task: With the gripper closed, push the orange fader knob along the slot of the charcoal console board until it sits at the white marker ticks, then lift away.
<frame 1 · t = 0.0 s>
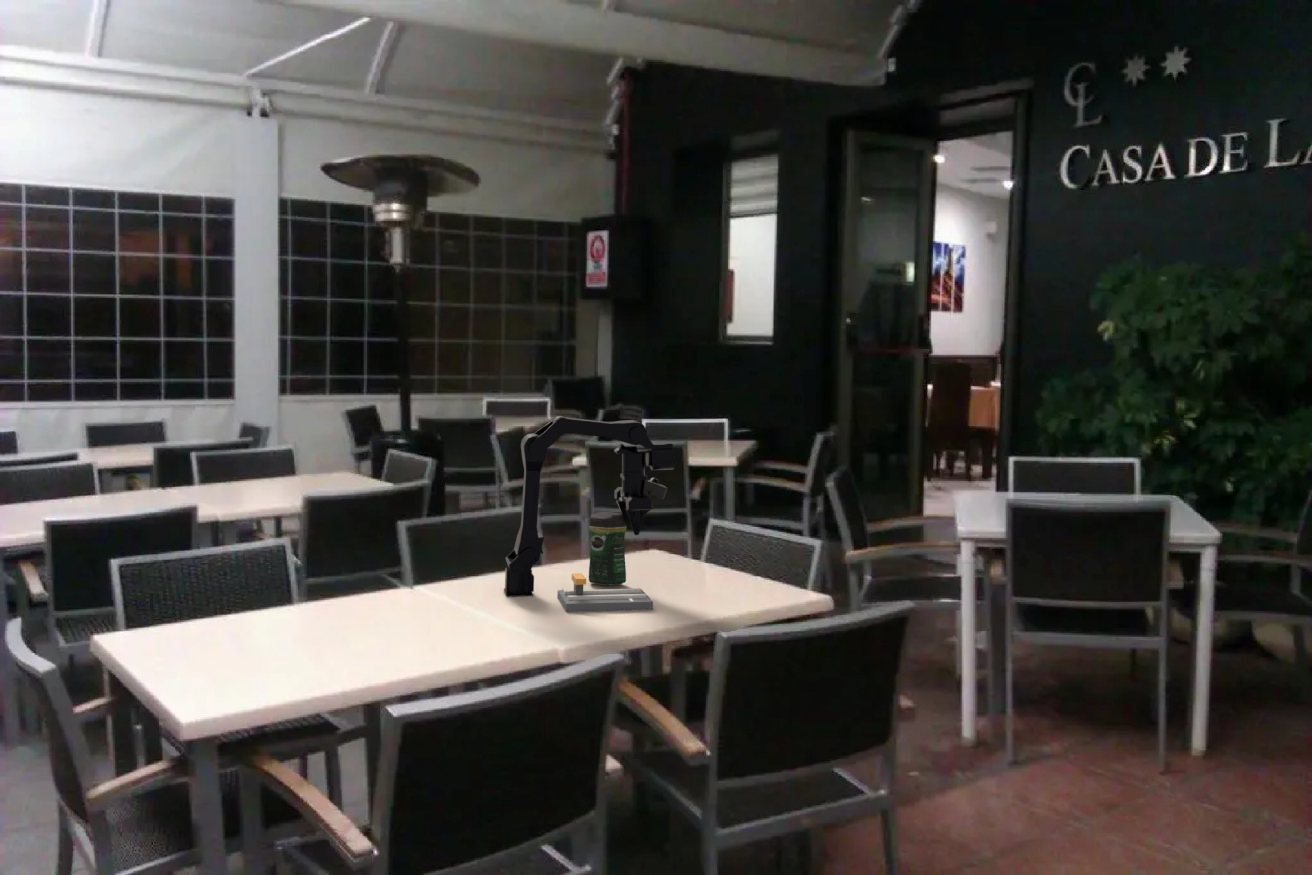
hand: (633, 531, 284), 15 cm above the table, tool pointing down, fingers open, 8 cm apart
coffee jar: (607, 584, 291), on the table, touching gripper
console: (604, 603, 272), on the table
fader: (578, 586, 270), point 5 cm above the table, slide at 0.0 cm
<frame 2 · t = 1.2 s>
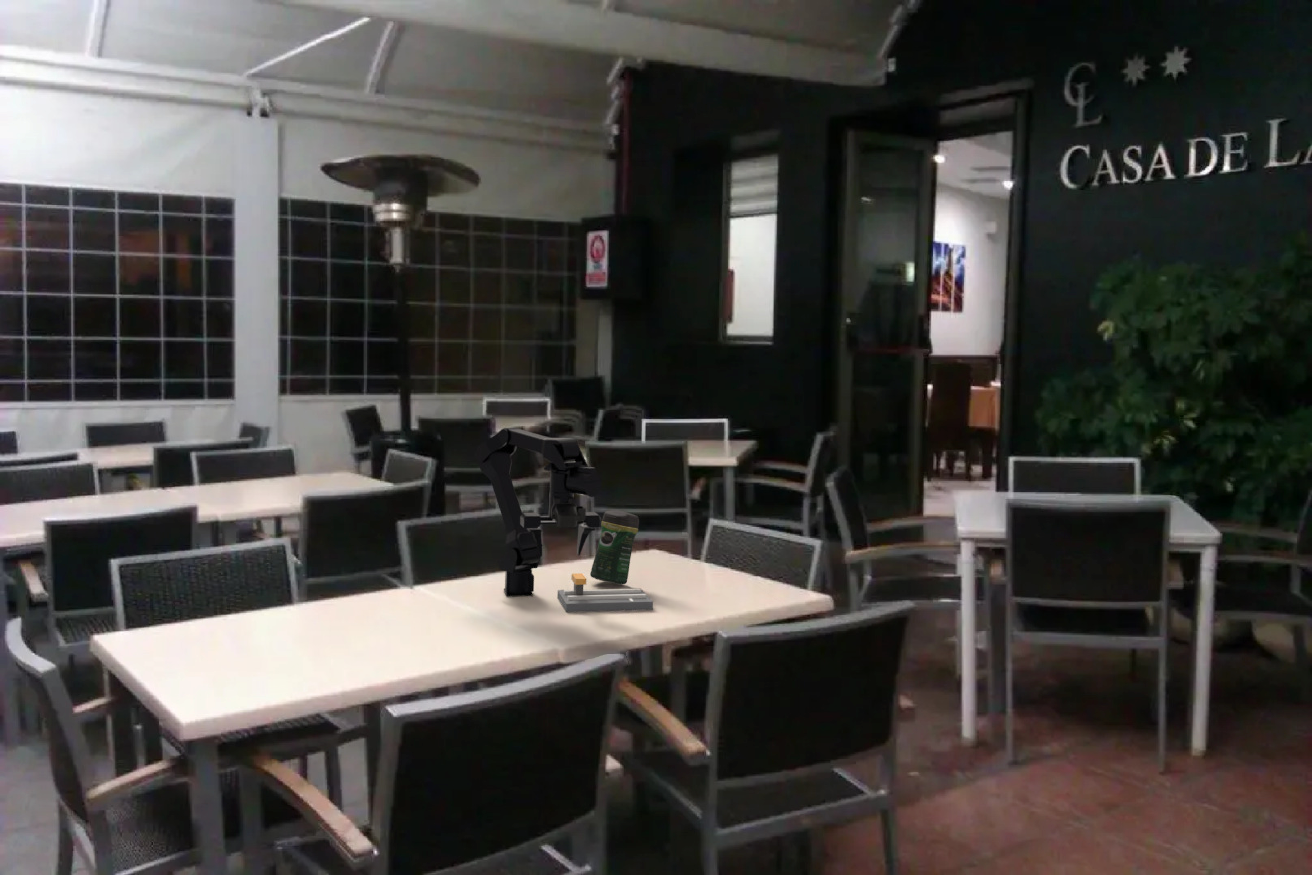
hand: (559, 555, 269), 12 cm above the table, tool pointing down, fingers open, 9 cm apart
coffee jar: (607, 582, 291), point 1 cm above the table
everything else where it was.
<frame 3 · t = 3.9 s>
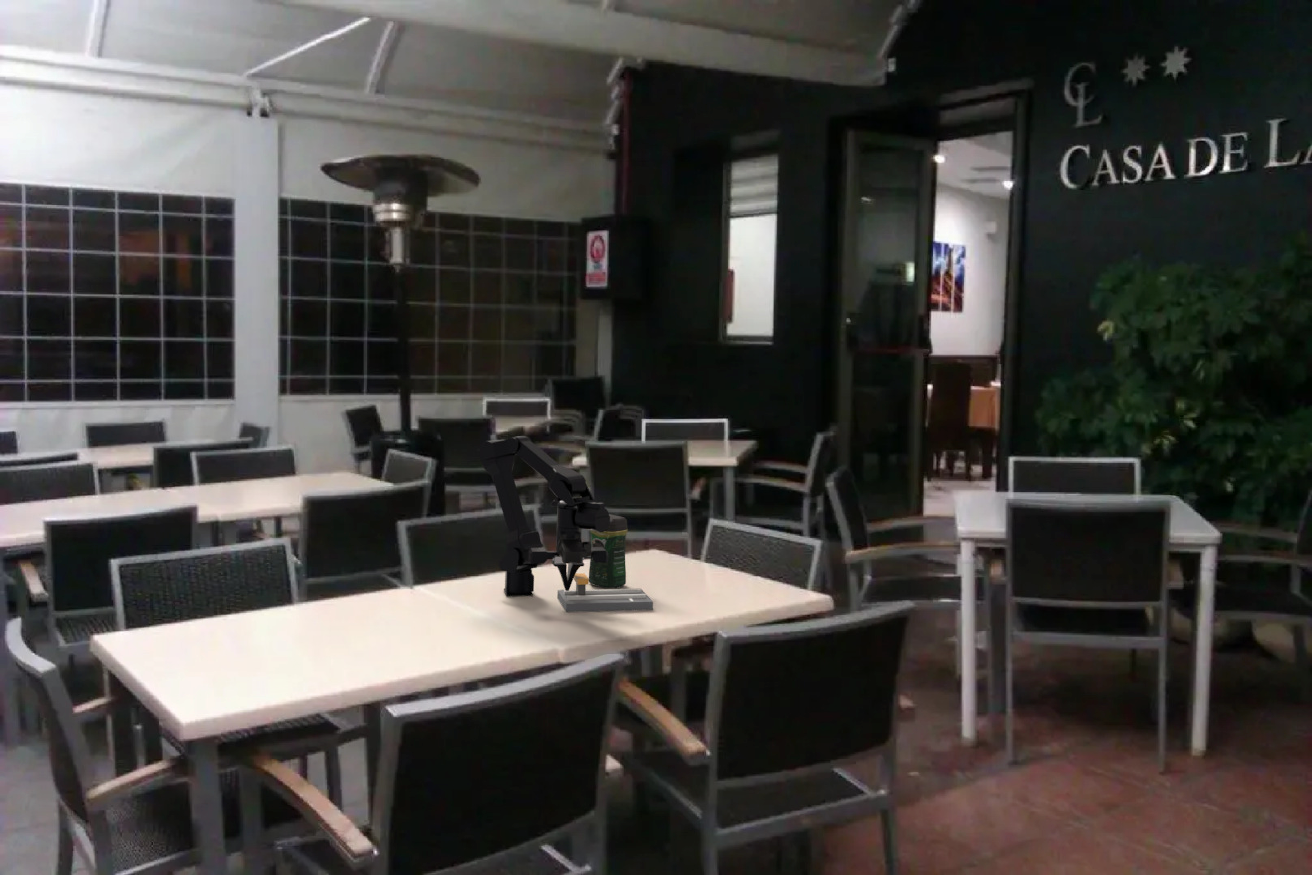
hand: (566, 590, 269), 4 cm above the table, tool pointing down, fingers closed
fader: (580, 586, 270), point 5 cm above the table, slide at 0.5 cm, touching gripper
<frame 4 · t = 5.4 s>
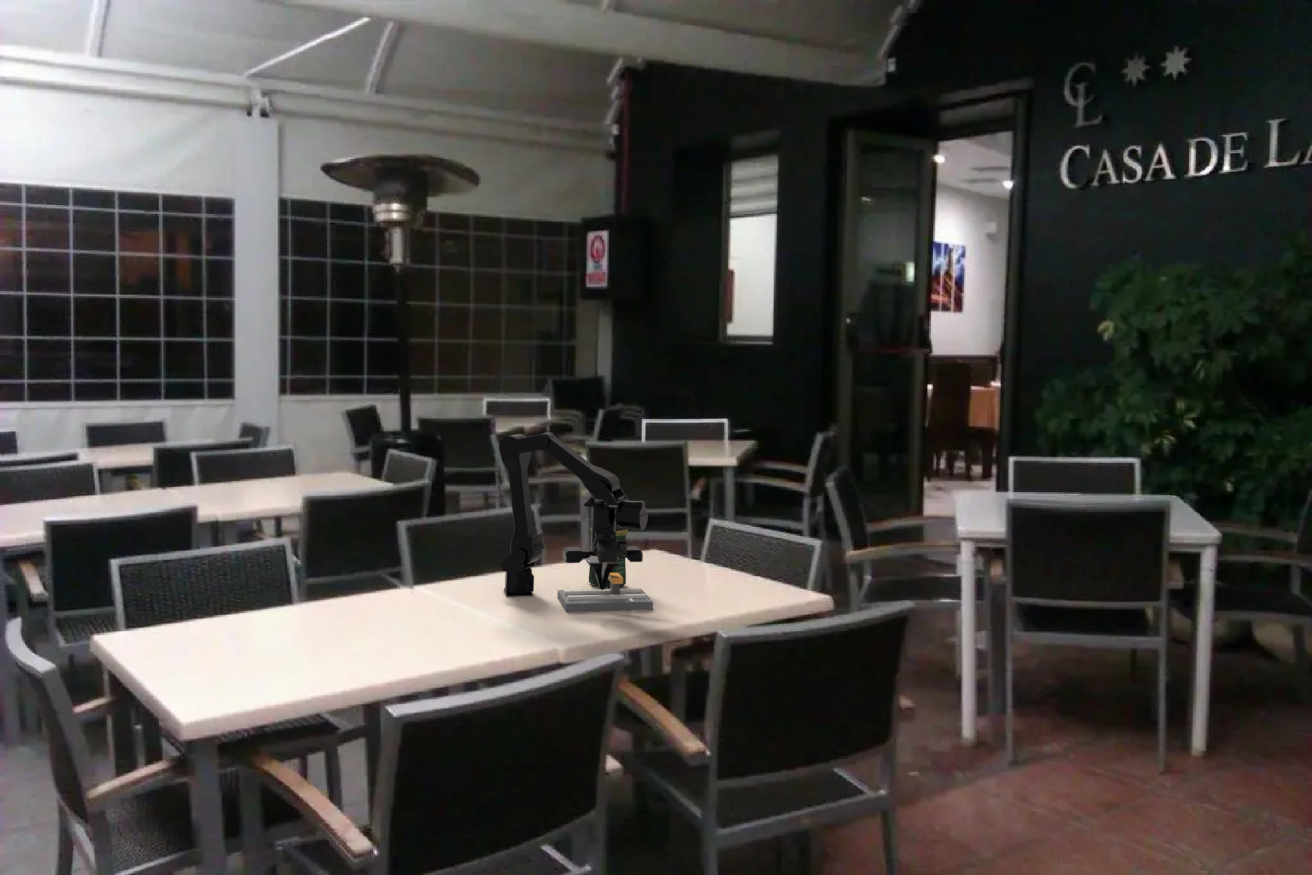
hand: (601, 589, 272), 4 cm above the table, tool pointing down, fingers closed
fader: (615, 585, 272), point 5 cm above the table, slide at 9.0 cm, touching gripper
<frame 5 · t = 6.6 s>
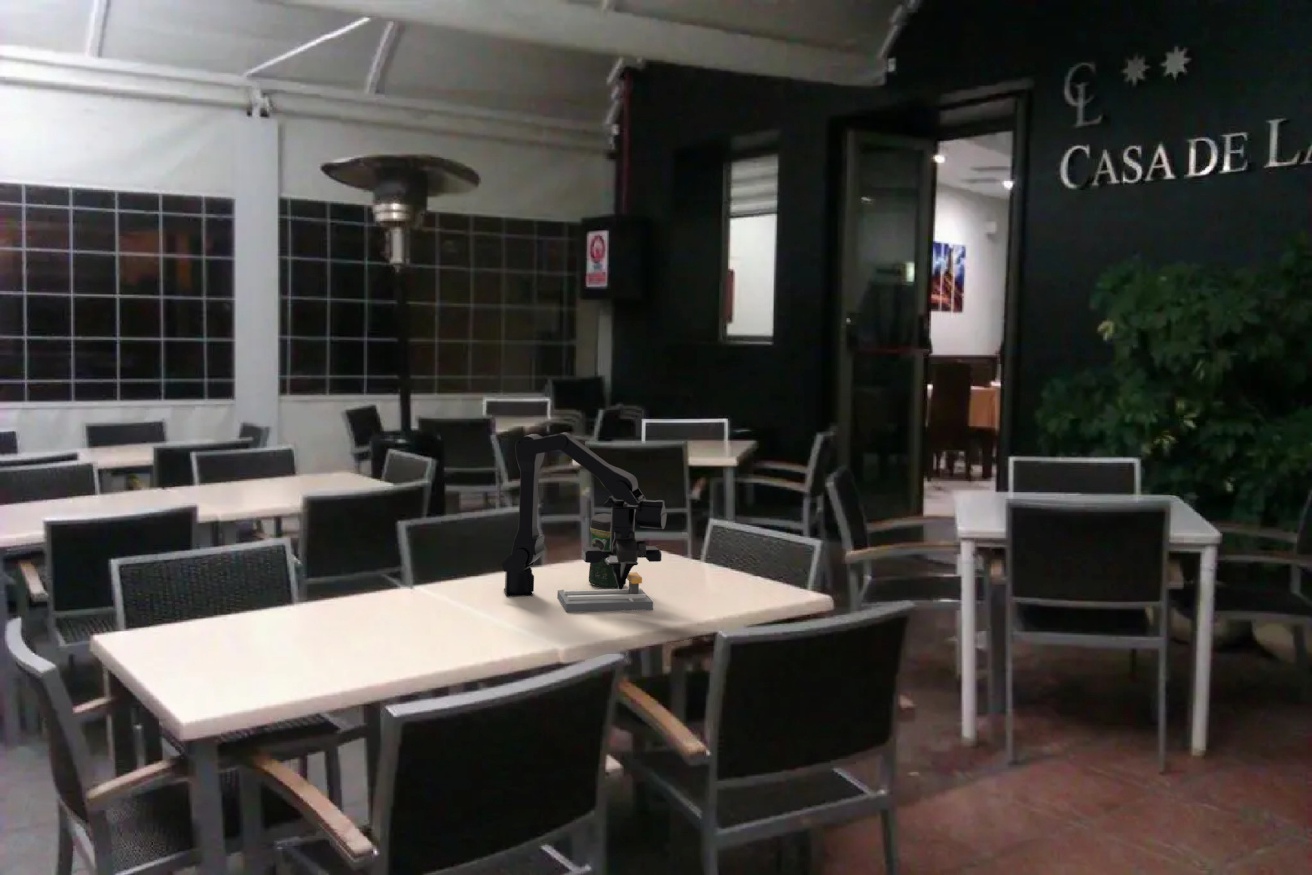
hand: (620, 589, 273), 4 cm above the table, tool pointing down, fingers closed
fader: (633, 584, 273), point 5 cm above the table, slide at 13.6 cm, touching gripper
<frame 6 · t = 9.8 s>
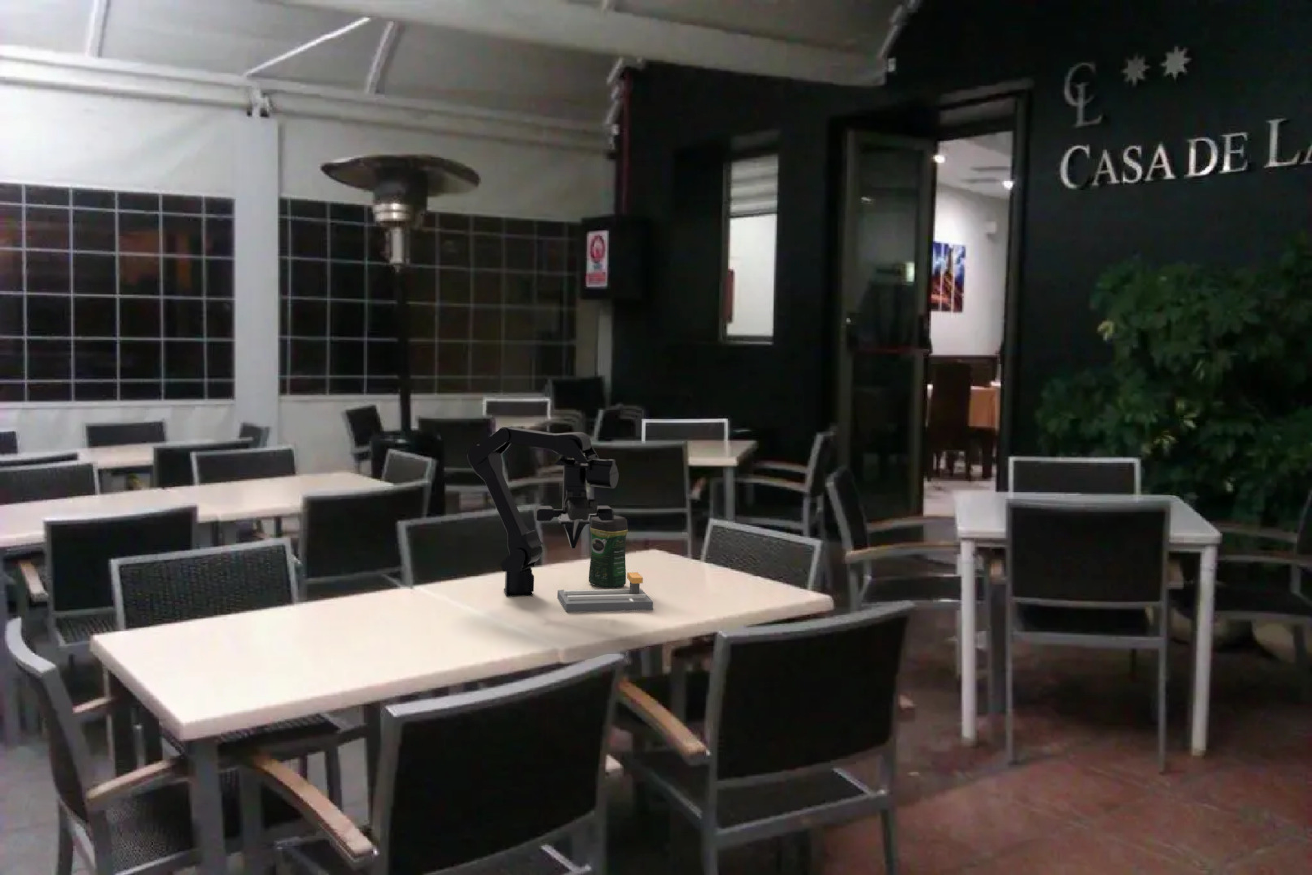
hand: (572, 548, 273), 13 cm above the table, tool pointing down, fingers closed
fader: (634, 584, 274), point 5 cm above the table, slide at 13.8 cm
at the end: fader slide at 13.8 cm; fader touching nothing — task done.
